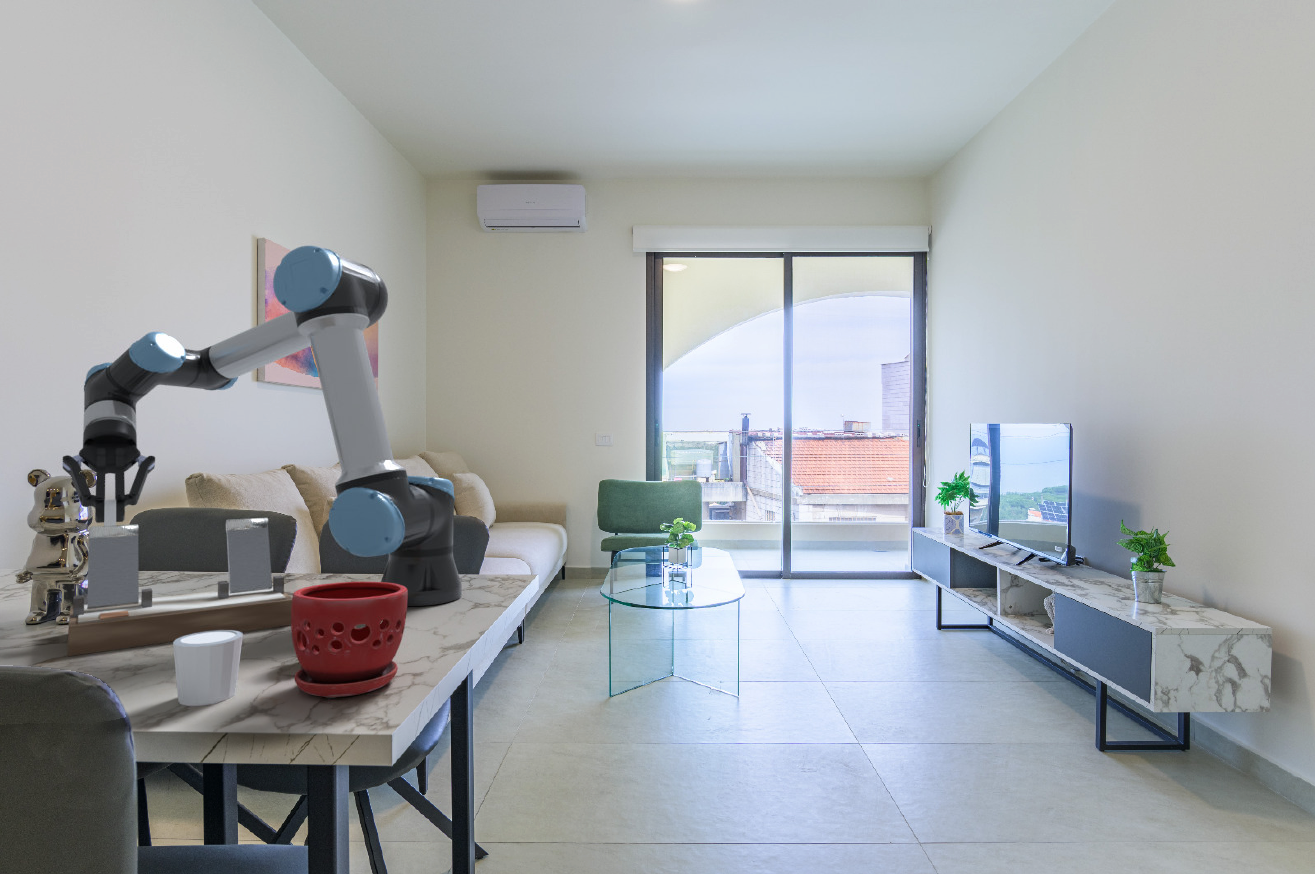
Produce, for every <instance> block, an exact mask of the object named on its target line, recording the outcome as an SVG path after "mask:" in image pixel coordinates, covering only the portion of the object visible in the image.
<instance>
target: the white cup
mask: <svg viewBox="0 0 1315 874" xmlns="http://www.w3.org/2000/svg"><path fill="white" fill-rule="evenodd" d="M243 638H244V633H243V632H240V631H233V630H216V631H205V632H199V633H194V634H190V635H186V636H182V637H180V638H178V639H176V640H175V641H172V645H173V655H174V657H173V658H174V667H175V668H174V669H175V677H176V690H177V699H178V700H177V701H178V703H179V704H180V705H182V706H186V707H187V706H188V707H196V706H197V707H199V706H207V705H209V706H210V705H213V704H217V703H221V702H224V701H226V700H230V699H231V698H233V696H235V694H236V692H237V687H238V686H237V684H238V677H239V676H238V675H239V668H240V660H241V652H242V644H243Z"/></svg>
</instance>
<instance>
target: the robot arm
mask: <svg viewBox="0 0 1315 874" xmlns="http://www.w3.org/2000/svg"><path fill="white" fill-rule="evenodd" d="M272 287H273V292H274V293H273V294H274V295H275V297H276V300H277V301H278V302H279V303H280V305H282V306H283V307H284V308H286V309H287V310H288V312H285V313H283V314H281V315H279V316H276V317H274V318H272V319H269V320H267V321H265V322H262V323H260V324H258V325H256V326H254V327H251V328H248V329H247V330H244V331H242V332H240V333H237V334H235V335H234V336H233V335H232V336H230V337H228V338H226V339H224V340H222V341H220V342H217V343H215V344H213V345H210V346H208V347H205V348H203V349H199V350H196V349H195V350H194V349H188V348H184V346H183V345H182V344H181V343H180V342H179V341H178V339H176V338H175V337H173V336H168V334H166V333H165V332H161V331H151V332H148V333H146V334H145V335H143V336H142V337H141V338H140V339H139V340H136V341H135V342H133V343H132V344H131V345H130V346H129V347H128V348H127V349H126V350H125V351H124V352H123V353H122V354H121V355H120V356H119V357H117V358H116V359H115V360H114V361H113V362H104V363H101V364H96V365H94V366H92V367H91V368H90V369H89V370H88V371H87V373H86V377H85V381H84V384H83V392H84V396H83V397H84V399H83V404H84V405H83V433H82V435H83V436H82V448H81V449H80V450H79V452H78V454H77V455H73V456H71V455H63V456H62V469H63V470H64V471H65V472H66V473H67V474H69V475H70V478H71V477H72V478H71V481H72V484H73V487H74V488H75V491H76V494H77V497H78V499H79V501H80V504H81V506H82V507H85V508H88V507H92V508H94V510H95V511H94V514H95V515H94V520H95V523H97V524H98V523H99V524H101V523H102V524H103V526H115V525H117V523H123V522H124V521H125V519H126V518H125V517H126V507H127V506H129V505H130V506H136V505H138V502H139V500H140V497H141V493H142V491H143V488H144V485H145V483H146V481H147V478H148V475H149V473H151V472H152V471H153V470H154V469H155V466H156V465H155V464H156V457H155V456H154V455H148V456H145V455H142V454H141V451H140V449H138V441H137V440H138V439H137V437H138V436H137V411H136V410H137V403H138V402H139V401H140V400H141V399H143V398H144V397H145V396H146V395H148V394H149V393H150V392H151V391H152V390H153V389H155V388H157V386H160V385H161V386H170V387H179V388H180V387H181V388H190V389H191V388H192V389H199V390H205V391H216V390H218V391H223V390H228V389H230V388H232V387H233V386H234V385H235V383H236V382H237V381H238V379H239V377H241V376H244V375H245V374H247V373H250V372H252V371H255V370H257V369H260V368H262V367H264V366H267V365H269V364H271V363H272V364H273V363H274V362H276V361H279V360H281V359H283V358H286V357H288V356H291V355H293V354H296V353H298V352H300V351H302V350H305V349H307V348H310V347H311V349H312V353H313V357H314V361H315V365H316V369H317V373H318V378H319V382H320V386H321V387H320V388H321V390H322V395H323V398H324V402H325V406H326V411H327V415H328V419H329V424H330V428H331V432H332V436H333V442H334V445H335V448H336V453H337V458H338V462H339V465H340V470H341V475H340V476H339V478H338V479H337V480H336V482H335V483H334V487H335V491H336V496H337V497H336V498H335V499H334V500H333V501H332V504H331V505H332V507H331V508H330V509H329V512H328V526H329V530H330V532H331V535H332V537H333V538H334V540H335V542H336V543H337V544H338V545H339V546H340V547H341V548H342V549H343V550H345V551H346V552H348V553H350V554H352V555H353V556H356V557H357V556H358V557H362V558H363V557H365V558H368V557H382V556H384V555H388V561H387V563H386V566H385V569H384V572H383V574H382V577H381V580H380V582H386V583H394V584H399V585H402V586H404V587H406V588H407V590H408V598H407V607H420V606H421V607H423V606H424V607H425V606H433V605H440V604H447V603H449V602H453V601H456V600H458V599H460V598H461V597H462V595H463V594H462V591H463V589H462V588H463V587H462V586H463V584H462V581H461V579H460V575H459V571H458V569H457V565H456V563H455V559H454V525H455V524H454V523H455V522H454V519H455V517H454V516H455V515H454V514H455V500H456V496H455V495H454V494H455V491H454V490H455V489H454V488H455V486H454V483H453V482H452V481H451V480H450V479H448V478H442V477H433V476H432V477H430V476H422V475H421V476H419V475H418V476H417V475H416V476H415V475H408V474H407V470H406V468H405V467H403V466H402V465H400V464H398V463H397V462H396V461H395V459H394V455H393V451H392V447H391V442H390V438H389V435H388V431H387V427H386V422H385V418H384V414H383V410H382V409H383V408H382V406H381V401H380V398H379V397H380V396H379V392H378V388H377V385H376V381H375V377H374V373H373V368H372V365H371V361H370V357H369V351H368V348H367V343H366V340H365V335H364V331H365V330H366V329H367V328H370V327H372V326H373V325H376V323H377V322H378V321H379V320H380V319H381V318H382V317H383V316H384V314H385V312H386V310H387V308H388V303H389V293H388V289H387V286H386V283H385V282H384V280H383V279H382V277H381V276H380V275H379V274H378V273H377V272H376V270H374V269H372V268H371V267H369V266H368V265H365V264H363V263H359V262H357V261H354V260H351V259H349V258H347V257H344V256H342V255H339V254H337V252H334V251H333V250H331V249H328V248H322V247H319V246H317V245H303V246H299V247H296V248H293V249H292V250H291V251H289V252H287V253H286V254H285V255H284V256H283V257H282V259H281V261H280V264H279V265H277V266H276V269H275V272H274V275H273V281H272ZM137 463H138V465H137V467H138V469H137V472H136V475H135V477H134V480H133V482H132V485H131V487H130V490H129V493H126V491H125V488H126V486H125V482H126V481H125V473H126V472H127V471H128V470H130V469H131V468H132V467H133V466H134V465H135V464H137ZM82 464H84V466H86V467H87V468H88V469H90V470H91V471H92V472H94V473H95V477H96V476H97V482H96V481H95V495H94V494H91V493H92V492H91V491H90V487H89V485H88V482H87V480H86V478H85V476H84V473H83V471H82ZM80 471H82V473H80V474H79V472H80ZM107 474H113V475H114V499H106V475H107ZM125 493H126V494H125Z"/></svg>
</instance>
